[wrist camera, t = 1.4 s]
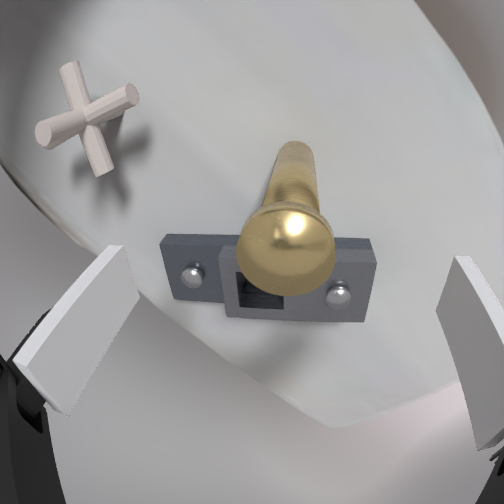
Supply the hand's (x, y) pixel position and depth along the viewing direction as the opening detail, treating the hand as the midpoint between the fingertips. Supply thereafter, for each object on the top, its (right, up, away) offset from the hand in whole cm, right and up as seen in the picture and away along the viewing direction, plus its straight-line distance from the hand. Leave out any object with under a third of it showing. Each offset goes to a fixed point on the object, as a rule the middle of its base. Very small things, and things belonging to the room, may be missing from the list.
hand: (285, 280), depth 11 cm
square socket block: (0, 0, +20) cm, 20 cm away
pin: (+2, +9, +13) cm, 16 cm away
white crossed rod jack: (-14, +14, +13) cm, 24 cm away
